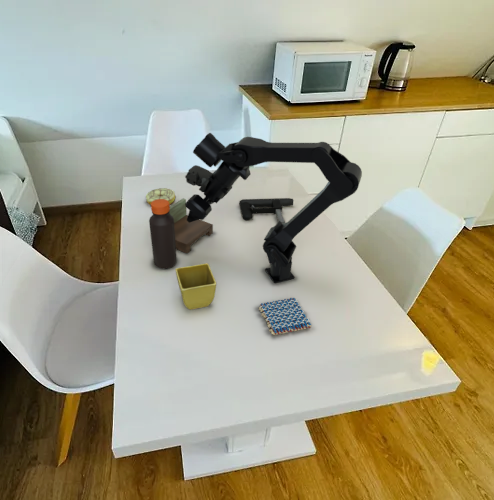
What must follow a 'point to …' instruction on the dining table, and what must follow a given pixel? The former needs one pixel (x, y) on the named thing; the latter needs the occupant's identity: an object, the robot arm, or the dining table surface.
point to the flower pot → (196, 285)
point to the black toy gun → (273, 203)
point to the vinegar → (162, 234)
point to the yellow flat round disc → (161, 195)
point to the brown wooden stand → (187, 227)
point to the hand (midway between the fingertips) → (195, 213)
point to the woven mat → (284, 316)
